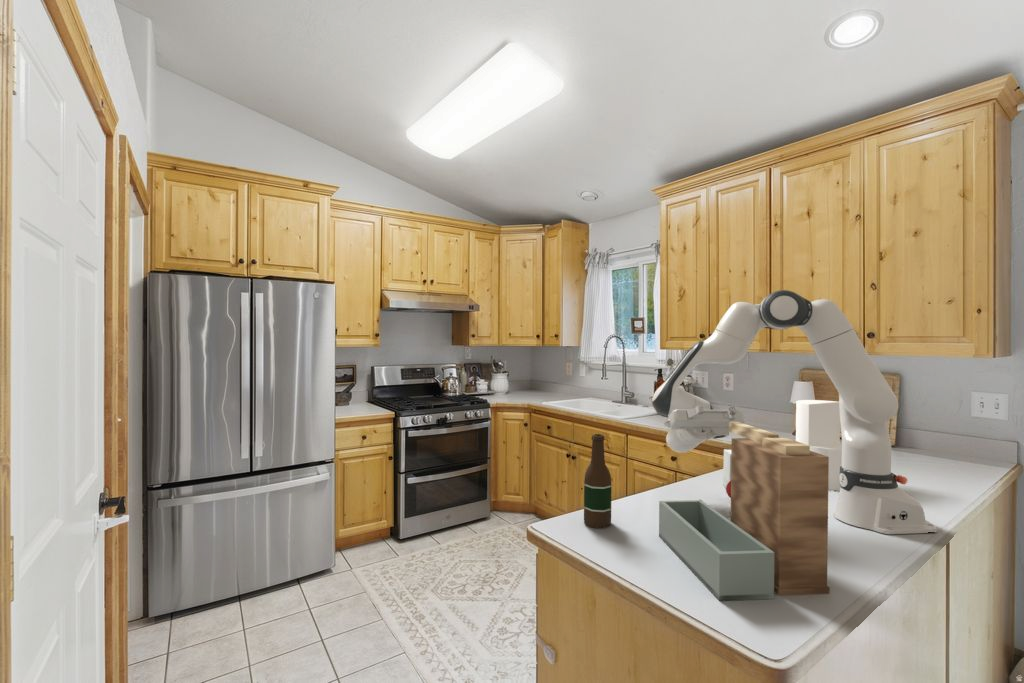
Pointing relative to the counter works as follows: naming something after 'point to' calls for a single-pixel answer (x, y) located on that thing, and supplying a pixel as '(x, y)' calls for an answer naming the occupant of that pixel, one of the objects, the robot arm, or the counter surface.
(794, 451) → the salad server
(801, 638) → the counter surface
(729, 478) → the supplement box
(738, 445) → the stand
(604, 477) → the beer bottle
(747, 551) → the bin
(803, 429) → the white rectangular block
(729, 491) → the red round fruit
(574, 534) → the counter surface
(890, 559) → the counter surface
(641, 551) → the counter surface
